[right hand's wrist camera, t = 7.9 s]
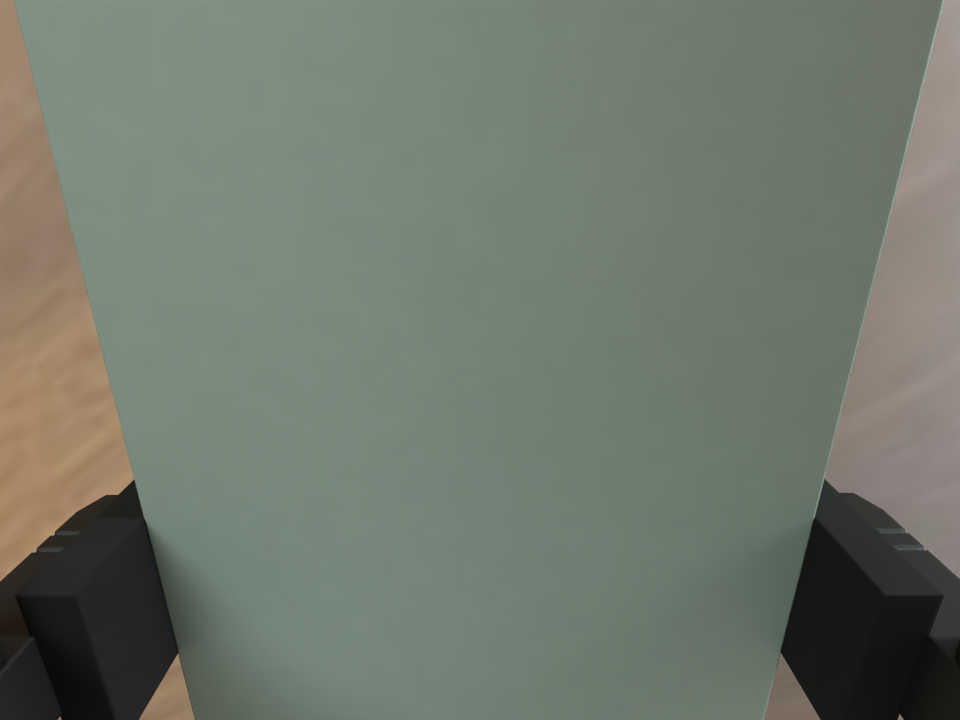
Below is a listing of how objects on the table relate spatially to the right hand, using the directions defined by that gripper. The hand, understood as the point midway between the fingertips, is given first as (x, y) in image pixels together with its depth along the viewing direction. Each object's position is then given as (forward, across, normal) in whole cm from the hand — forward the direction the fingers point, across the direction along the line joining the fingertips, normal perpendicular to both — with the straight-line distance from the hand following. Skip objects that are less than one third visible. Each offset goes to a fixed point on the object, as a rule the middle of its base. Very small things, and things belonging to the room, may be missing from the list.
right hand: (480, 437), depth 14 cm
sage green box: (+5, 0, -3) cm, 6 cm away
